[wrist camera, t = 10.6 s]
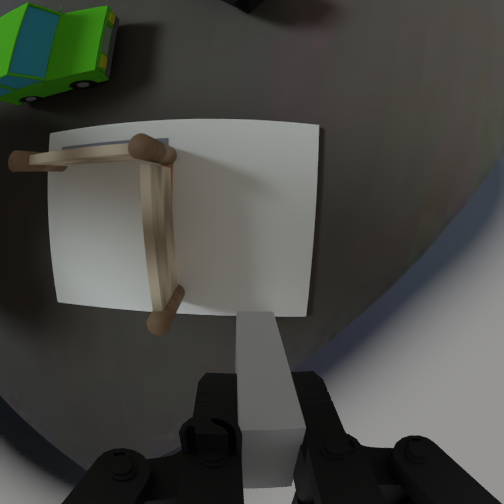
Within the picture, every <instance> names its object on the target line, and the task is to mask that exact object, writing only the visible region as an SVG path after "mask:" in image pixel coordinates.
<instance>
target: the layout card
mask: <svg viewBox="0 0 504 504" xmlns="http://www.w3.org/2000/svg"><path fill="white" fill-rule="evenodd" d="M139 133H144V134H146V135H148V136H150V137H152V138H154V139H156V140H158V141H160V142H162V143H164V144H166V145H168V146H170V147H172V148H174V149H175V151H176V153H177V157H176V160H175V162H174V163H172V164H170V165H162V164H158V163H153V162H149V161H144V160H138V161H119V162H104V163H92V164H80V165H70V166H68V167H67V168H66V170H64V171H62V172H52V171H48V220H49V236H50V248H51V258H52V267H53V275H54V282H55V288H56V295H57V301H58V302H61V303H69V304H77V305H86V306H95V307H104V308H115V309H126V310H137V311H150V312H152V311H153V308H152V302H151V295H150V287H149V280H148V272H147V263H146V254H145V244H144V234H143V222H142V208H141V191H140V166H139V165H141V164H155V165H160V166H164V167H169V168H170V170H171V194H172V213H173V228H174V241H175V254H176V265H177V275H178V284H179V285H181V286H182V287H183V289H184V291H185V295H184V298H183V300H182V302H181V304H180V306H179V308H178V310H177V312H176V313H180V314H199V315H224V316H236V315H237V311H270V312H274V316H275V317H306V313H307V304H308V295H309V285H310V274H311V264H312V252H313V240H314V226H315V211H316V195H317V175H318V149H319V125H313V124H303V123H292V122H280V121H264V120H242V119H178V120H157V121H141V122H129V123H119V124H109V125H101V126H93V127H86V128H79V129H72V130H66V131H60V132H55V133H50V141H49V152H52V151H59V150H66V149H74V148H82V147H91V146H101V145H112V144H124V143H129V141H130V139H131V138H132V137H133V136H134V135H136V134H139Z"/></svg>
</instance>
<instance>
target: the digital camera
mask: <svg viewBox="0 0 504 504" xmlns="http://www.w3.org/2000/svg"><path fill="white" fill-rule="evenodd" d="M222 1H224V2H226V3H228V4H230V5H232V6H234V7H236V8H238V9H240V10H242V11H244V12H246V13H250V12H251V11H252V10H253V9H254V8H255V7H256V6H257V5H258V4H260V3H261V2H262V1H263V0H222Z"/></svg>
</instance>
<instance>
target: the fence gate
mask: <svg viewBox="0 0 504 504" xmlns="http://www.w3.org/2000/svg"><path fill="white" fill-rule="evenodd" d="M139 166H140V191H141V208H142V222H143V234H144V244H145V254H146V263H147V272H148V280H149V287H150V295H151V302H152V308H153V311H152V313H151V314H150V316H149V317H148V319H147V328H148V329H149V331H150V332H151V333H153V334H155V335H164V334H166V333H167V331H168V330H169V327H170V325H171V323H172V321H173V319H174V317H175V315H176V312H177V310H178V308H179V306H180V304H181V302H182V300H183V298H184V295H185V291H184V289H183V287H182V286H181V285H179V284H178V275H177V265H176V254H175V241H174V228H173V213H172V194H171V170H170V168H169V167H164V166H160V165H155V164H141V165H139Z"/></svg>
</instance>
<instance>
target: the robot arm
mask: <svg viewBox="0 0 504 504" xmlns="http://www.w3.org/2000/svg"><path fill="white" fill-rule="evenodd" d="M235 367H236V374H226V373H206V374H205V375H204V376H203V377H202V378H201V379H200V381H199V382H198V387H197V395H196V400H195V406H194V413H193V417H192V418H190V419H189V420H188V421H186V422H185V423H184V424H183V425H182V427H181V429H180V431H179V435H180V441H181V446H182V450H181V451H180V452H178V453H176V454H174V455H171V456H167V457H161V458H153V459H145V457H144V456H143V455H141V454H140V453H138V452H136V451H134V450H130V449H125V448H120V449H112V450H109V451H107V452H104V453H103V454H102V455H101V456H100V457H98V458H97V460H96V461H95V462H94V463H93V465H92V466H91V467H90V469H89V470H88V471H87V472H86V474H85V475H84V476H83V477H82V479H81V480H80V481H79V482H78V484H77V485H76V486H75V488H74V489H73V490H72V491H71V493H70V494H69V495H68V497H67V498H66V499H65V500H64V501H63V503H62V504H244V499H243V498H244V496H243V488H273V487H287V486H291V485H292V481H293V478H294V483H295V488H296V492H295V495H294V498H293V501H292V504H502V503H500V502H499V501H498V500H497V499H496V498H495V497H493V496H492V495H491V494H490V493H489V492H488V491H487V490H486V489H485V488H484V487H482V486H481V485H480V484H479V483H478V482H477V481H476V480H475V479H474V478H473V477H471V476H470V475H469V474H468V473H467V472H466V471H465V470H464V469H462V467H460V466H459V465H458V464H457V463H456V462H455V461H454V460H453V459H452V458H451V457H449V456H448V455H447V454H446V453H445V452H444V451H443V450H442V449H441V448H440V447H438V445H436V444H435V443H434V442H433V441H431V440H430V439H428V438H426V437H422V436H407V437H404V438H402V439H401V440H399V441H398V442H397V443H396V444H395V446H394V448H374V447H366V446H363V445H361V444H360V443H359V442H358V441H357V439H356V438H354V437H352V436H351V435H349V434H346V432H345V431H344V429H343V426H342V424H341V421H340V419H339V416H338V414H337V412H336V409H335V407H334V404H333V402H332V401H331V397H330V395H329V393H328V392H327V388H326V386H325V383H324V381H323V379H322V378H321V377H319V376H318V375H317V374H316V373H315V372H314V371H307V372H290V369H289V365H288V362H287V358H286V355H285V351H284V348H283V344H282V340H281V337H280V333H279V330H278V326H277V323H276V319H275V316H274V312H270V311H237V315H236V365H235Z"/></svg>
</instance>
